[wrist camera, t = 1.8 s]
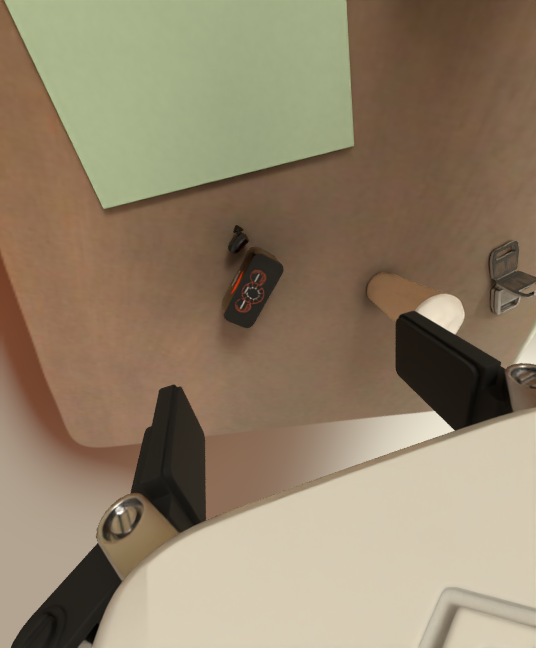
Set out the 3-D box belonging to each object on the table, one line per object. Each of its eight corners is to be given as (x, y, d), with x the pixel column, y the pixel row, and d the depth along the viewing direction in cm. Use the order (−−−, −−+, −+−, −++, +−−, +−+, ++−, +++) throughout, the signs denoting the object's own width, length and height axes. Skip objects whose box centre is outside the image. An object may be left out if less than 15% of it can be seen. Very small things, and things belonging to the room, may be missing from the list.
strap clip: (512, 302, 34) (550, 317, 30) (490, 314, 34) (525, 330, 30) (514, 238, 30) (558, 246, 26) (488, 251, 30) (528, 261, 26)
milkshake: (349, 308, 30) (409, 362, 21) (373, 260, 28) (451, 297, 19) (383, 318, 31) (452, 372, 22) (408, 272, 29) (495, 313, 20)
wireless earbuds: (281, 248, 25) (291, 257, 23) (245, 314, 28) (250, 329, 25) (235, 223, 24) (239, 229, 21) (201, 295, 26) (200, 310, 23)
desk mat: (-30, -76, 14) (-36, -83, 14) (335, -140, 16) (338, -148, 16) (105, 208, 21) (103, 209, 21) (351, 146, 23) (354, 145, 22)
